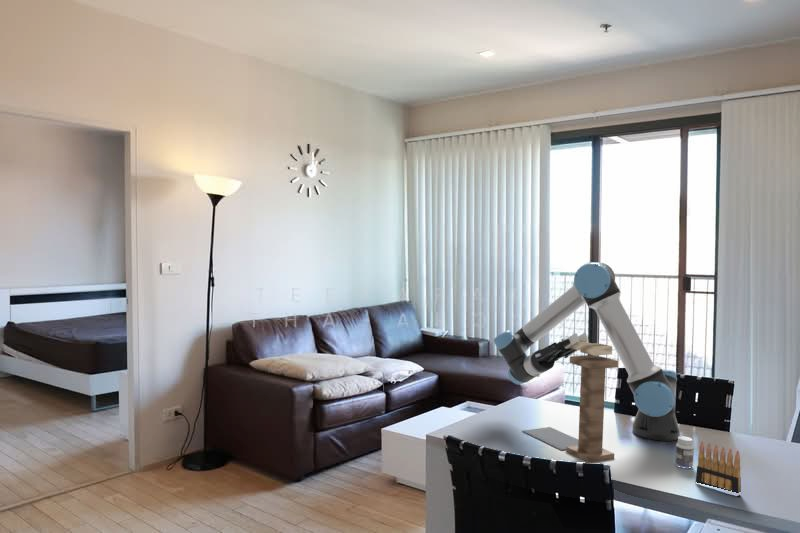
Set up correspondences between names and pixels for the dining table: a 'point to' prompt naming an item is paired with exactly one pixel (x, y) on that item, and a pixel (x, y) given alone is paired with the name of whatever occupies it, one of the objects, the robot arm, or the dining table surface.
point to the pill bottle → (684, 452)
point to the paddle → (592, 348)
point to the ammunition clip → (719, 469)
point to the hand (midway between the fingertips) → (581, 337)
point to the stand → (591, 408)
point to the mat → (552, 437)
